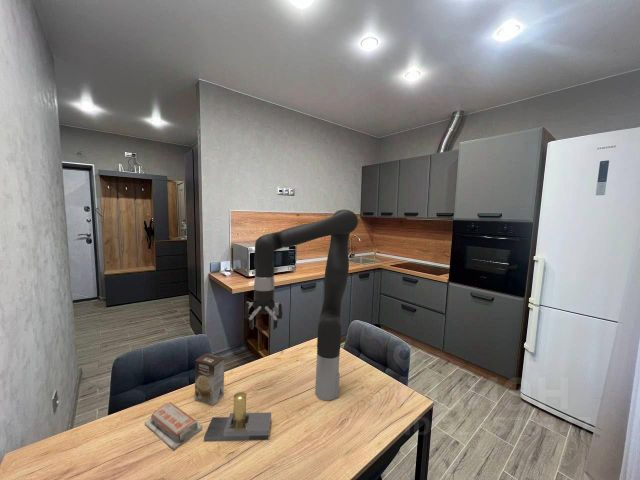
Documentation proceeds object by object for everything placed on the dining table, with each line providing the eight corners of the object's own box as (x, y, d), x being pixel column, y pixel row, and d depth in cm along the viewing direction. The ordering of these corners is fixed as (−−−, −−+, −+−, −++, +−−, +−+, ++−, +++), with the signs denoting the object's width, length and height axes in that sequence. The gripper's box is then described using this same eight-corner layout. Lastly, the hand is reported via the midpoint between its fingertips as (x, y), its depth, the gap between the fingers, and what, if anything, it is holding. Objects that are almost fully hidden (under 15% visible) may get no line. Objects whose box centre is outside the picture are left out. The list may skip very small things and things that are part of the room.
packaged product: (203, 416, 86) (173, 437, 78) (203, 430, 87) (173, 452, 78) (173, 395, 96) (143, 411, 87) (173, 407, 96) (144, 425, 88)
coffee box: (193, 400, 100) (193, 359, 99) (206, 390, 106) (206, 352, 105) (213, 406, 97) (213, 365, 96) (224, 395, 103) (225, 356, 102)
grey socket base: (271, 420, 92) (271, 412, 91) (268, 439, 84) (268, 430, 83) (212, 421, 90) (212, 413, 90) (203, 441, 82) (204, 432, 82)
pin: (246, 425, 89) (247, 391, 88) (244, 434, 85) (244, 400, 84) (234, 425, 89) (235, 392, 88) (231, 435, 85) (232, 400, 84)
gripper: (283, 285, 104) (282, 324, 105) (247, 284, 103) (246, 324, 104) (282, 290, 96) (281, 333, 98) (243, 289, 95) (242, 332, 97)
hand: (263, 328), depth 101 cm, fingers open, 8 cm apart
